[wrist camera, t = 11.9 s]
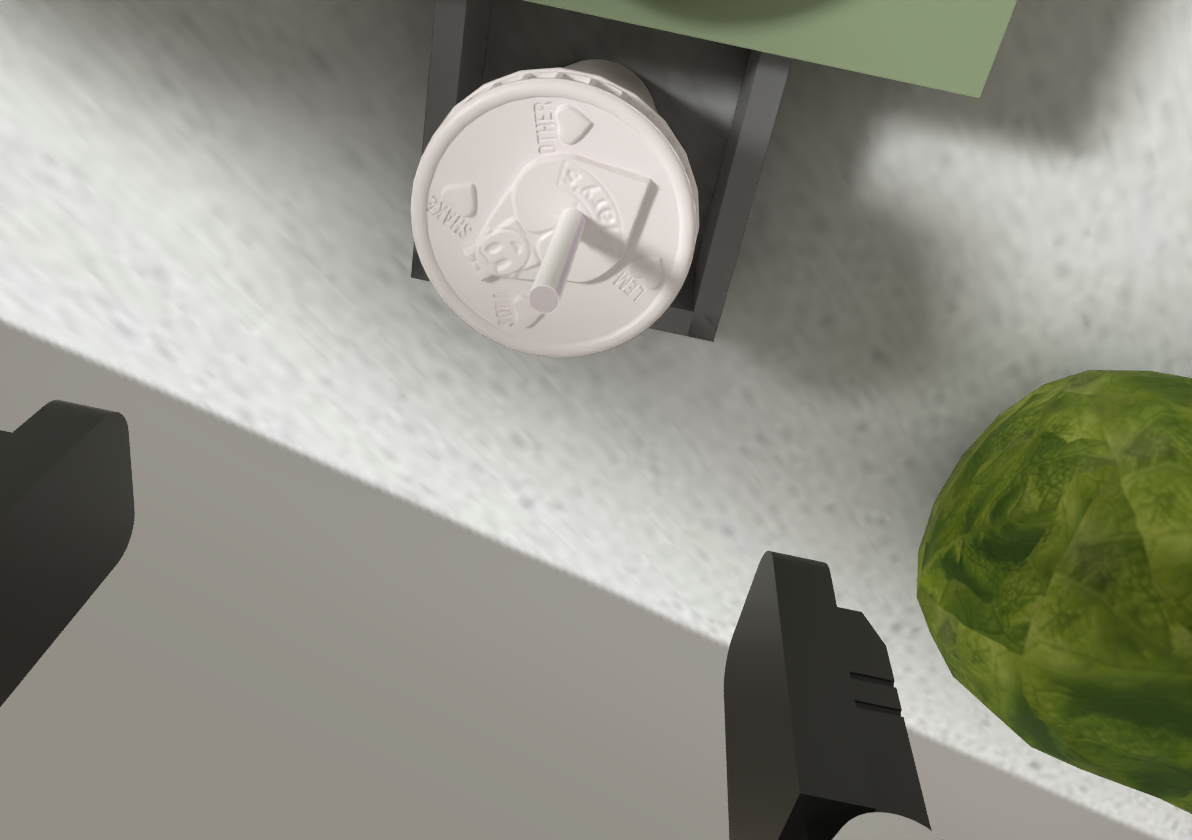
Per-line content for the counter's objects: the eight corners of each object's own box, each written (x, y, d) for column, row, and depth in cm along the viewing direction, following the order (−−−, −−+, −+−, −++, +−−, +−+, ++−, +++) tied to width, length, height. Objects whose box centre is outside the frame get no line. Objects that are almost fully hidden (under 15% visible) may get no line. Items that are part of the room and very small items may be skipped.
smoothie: (736, 171, 29) (755, 390, 17) (555, 256, 31) (459, 505, 19) (644, -34, 27) (590, 57, 15) (452, 73, 29) (268, 231, 17)
